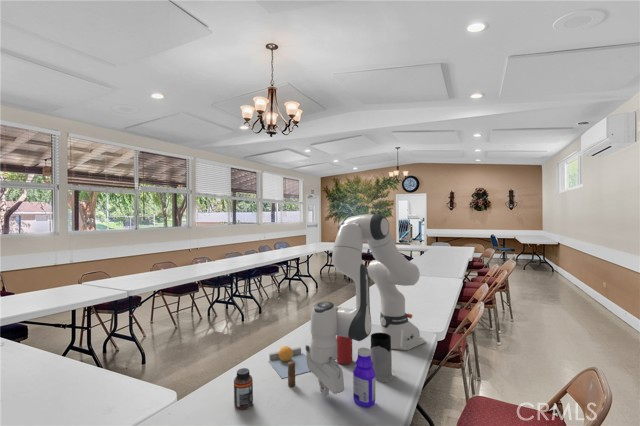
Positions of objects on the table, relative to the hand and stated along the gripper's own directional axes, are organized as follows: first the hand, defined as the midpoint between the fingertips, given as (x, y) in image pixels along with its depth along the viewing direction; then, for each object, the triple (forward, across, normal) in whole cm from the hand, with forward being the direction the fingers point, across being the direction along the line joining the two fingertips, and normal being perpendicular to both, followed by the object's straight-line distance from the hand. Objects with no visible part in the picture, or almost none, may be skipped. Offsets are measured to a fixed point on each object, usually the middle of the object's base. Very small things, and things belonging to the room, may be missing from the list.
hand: (324, 393), depth 111 cm
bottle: (+2, -9, -10) cm, 13 cm away
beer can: (+2, +20, -20) cm, 28 cm away
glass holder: (+2, +5, -28) cm, 28 cm away
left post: (+2, +13, +6) cm, 15 cm away
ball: (-1, +32, +1) cm, 32 cm away
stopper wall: (+2, +36, 0) cm, 36 cm away
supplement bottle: (+2, +9, +25) cm, 27 cm away
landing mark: (+2, +27, 0) cm, 27 cm away
